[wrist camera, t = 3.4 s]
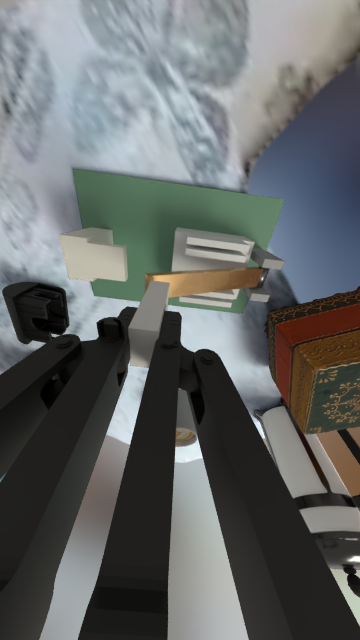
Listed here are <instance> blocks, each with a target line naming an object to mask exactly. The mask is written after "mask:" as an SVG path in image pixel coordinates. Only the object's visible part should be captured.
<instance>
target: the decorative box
mask: <svg viewBox="0 0 360 640" xmlns="http://www.w3.org/2000/svg"><path fill="white" fill-rule="evenodd" d="M267 319H268V321H267V322H266V324H265V325H264V326H266V329H265V331H264V332H265V333H266V334H267V338H268V339H269V351H270V353H269V360H270V365H269V369H270V372H271V376H272V378H273V380H274V382H275V384H276V386H277V388H278V389H279V391H280V393H281V395H282V397H283V399H284V400H285V402H286V404H287V406H288V408H289V409H290V411H291V413H292V415H293V417H294V419H295V421H296V423H297V424H298V426H299V428H300V430H301V431H302V433H303V434H306V435H310V434H316V433H324V432H330V431H334V430H342V429H347V428H354V427H359V426H360V286H359V287H358V288H357V290H355V291H352V292H347V293H337V294H335V295H333V296H331V297H327V298H322V299H315V300H313V301H312V302H307V303H303V304H297V305H294V306H291V307H282V308H280V309H279V310H273V311H271V312H270V313H269V314H268V316H267Z"/></svg>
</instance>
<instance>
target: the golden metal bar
mask: <svg viewBox="0 0 360 640" xmlns="http://www.w3.org/2000/svg"><path fill="white" fill-rule="evenodd" d="M269 269H270V268H263V267H261V266H260V265H259V266H258V267H250V268H231V269H212V270H193V271H174V272H155V273H145V292H146V290H147V288H148V286H149V284H150V282H151V280H152V281H160V282H168V283H170V286H169V297H168V298H170V297H178V296H186V295H194V294H202V293H210V292H218V291H225V290H233V289H241V288H249V287H258V288H262V286H263V284H264V281H265V279H266V276H267V274H268V271H269Z"/></svg>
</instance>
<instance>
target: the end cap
mask: <svg viewBox="0 0 360 640" xmlns="http://www.w3.org/2000/svg"><path fill="white" fill-rule="evenodd" d="M2 293H3V296H4V299H5V302H6V305H7V308H8V311H9V314H10V317H11V320H12V323H13V326H14V329H15V332H16V335H17V338H18V340H19V341H20V342H21V343H23V344H29V343H30V342H31V341H32V340H34V341H39V342H44V343H48V342H49V341H51V340H52V339H54V338H55V337H52V335H51V333H52V334H57V335H62V334H63V333H64V332H65V331H66V328H67V327H69V317H68V309H67V301H66V292H65V290H64V289H62V288H58V287H53V286H49V285H45V284H40V283H35V282H20V283H15V284H11V285H8V286H7V287H5V288H4V289H3V291H2Z"/></svg>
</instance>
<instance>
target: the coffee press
mask: <svg viewBox="0 0 360 640" xmlns="http://www.w3.org/2000/svg"><path fill="white" fill-rule="evenodd" d="M281 404H282V405H281V406H280V407H276V408H272V409H270V410H268V411H267V412H265V413H264V414H262V413H260V412H259V411H257V410H255V411H254V414H253V415H254V417H255V418H257V419H258V420H259V422H260V424H261V426H262V429H263V432H264V435H265V438H266V441H267V444H268V447H269V450H270V453H271V456H272V459H273V461H274V462H275V464H276V466H277V468H278V470H279V472H280V474H281V476H282V478H283V480H284V482H285V484H286V486H287V488H288V489H289V491H290V493H291V495H292V497H293V499H294V501H295V503H296V505H297V507H298V509H299V511H300V513H301V514H302V516H303V518H304V520H305V522H306V524H307V526H308V528H309V530H310V532H311V534H312V536H313V538H314V540H315V541H316V543H317V545H318V547H319V549H320V551H321V553H322V555H323V557H324V559H325V561H326V563H327V565H328V566H329V568H332V569H343V570H344V572H345V573H347V574H349V575H348V576H347V581H348V586H349V587H350V588H351V590H352V591H353V592H354V594H355V595H357V596H358V597H360V578H359V577H357V576H356V575H355V573H356V570H360V509H359V508H360V495H357V496H353V497H351V495H350V494H349V492H348V490H347V488H346V487H345V485H344V483H343V481H342V480H341V478H340V476H339V474H338V473H337V471H336V469H335V467H334V466H333V464H332V462H331V460H330V458H329V457H328V455H327V453H326V451H325V450H324V448H323V446H322V444H321V443H320V441H319V439H318V438H317V436H316V434H310V435H306V434H303V433H302V431H301V430H300V428H299V426H298V424H297V423H296V421H295V419H294V417H293V415H292V413H291V411H290V409H289V408H288V406H287V404H286V402H285V400H284V399H283V397H281ZM255 413H257V414H259V415H260V416H262V417H261V419H260V418H259V417H258V416H257V415H256V414H255ZM337 432H338V433H339V434H340V436H341V437H342V439H343V440H344V442H345V443H346V445H347V446H348V448H349V449H350V451H351V452H352V454H353V455H354V457H355V458H356V460H357V461H358V463H359V464H360V447H359V446H358V445H357V443H356V442H355V440H354V439H353V438H352V436H351V435H350V434H349V432H348V431H347V430H346V429H342V430H337Z"/></svg>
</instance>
